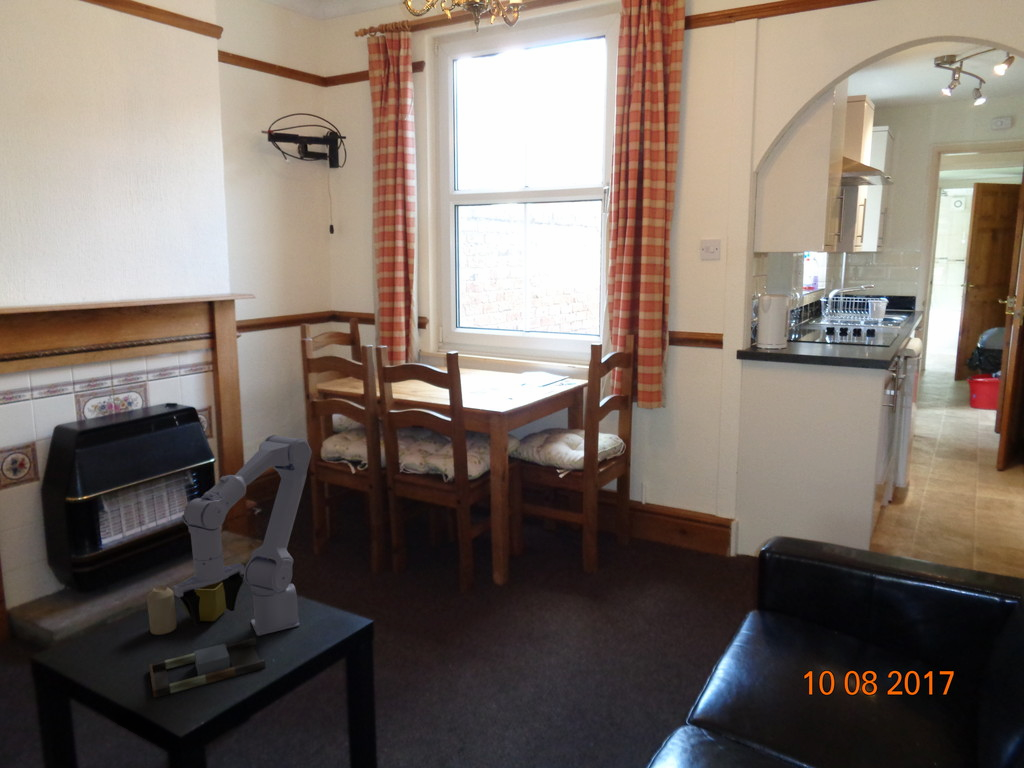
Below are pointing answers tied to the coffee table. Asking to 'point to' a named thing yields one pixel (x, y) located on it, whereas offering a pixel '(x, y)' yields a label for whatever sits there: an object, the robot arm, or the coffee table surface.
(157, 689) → the trap lane
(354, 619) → the coffee table surface
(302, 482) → the robot arm
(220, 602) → the flower pot
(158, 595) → the candle
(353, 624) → the coffee table surface
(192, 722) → the coffee table surface
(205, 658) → the block
